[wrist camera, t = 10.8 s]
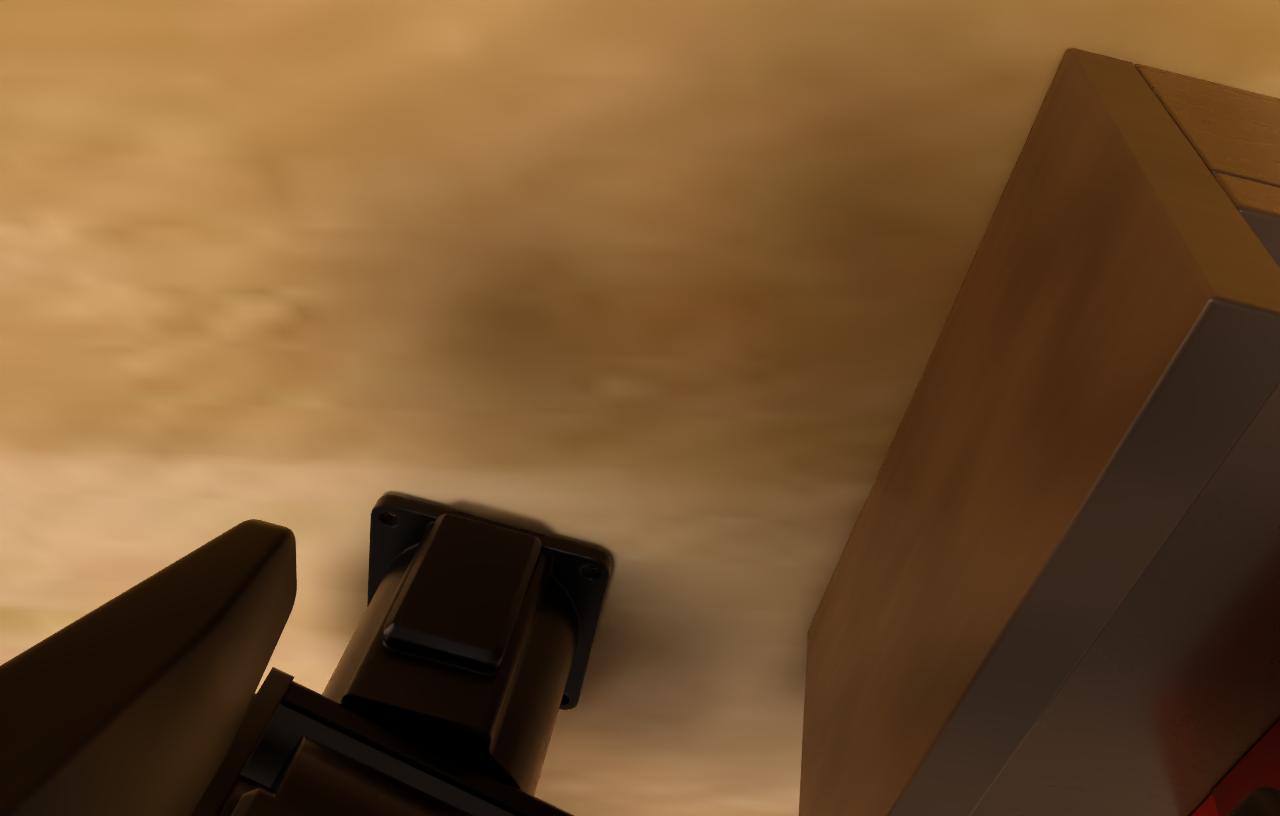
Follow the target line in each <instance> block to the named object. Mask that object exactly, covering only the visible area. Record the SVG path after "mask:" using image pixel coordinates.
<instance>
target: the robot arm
mask: <svg viewBox="0 0 1280 816" xmlns="http://www.w3.org/2000/svg"><path fill="white" fill-rule="evenodd" d="M388 512H390V513H392V514H394V515H395V516H393V515H391V514H389V513H388ZM587 565H591V566H594V567H596V568H597V569H594V568H590V567H588V566H587ZM611 568H612V561H611V559H610V557H609V556H608V555H607V554H606V553H605V552H604V551H601V550H599V549H596V548H592V547H589V546H585V545H581V544H577V543H573V542H570V541H566V540H562V539H558V538H554V537H551V536H547V535H543V534H539V533H535V532H531V531H528V530H524V529H520V528H516V527H512V526H509V525H505V524H501V523H497V522H493V521H490V520H486V519H482V518H478V517H474V516H471V515H467V514H463V513H459V512H455V511H452V510H448V509H444V508H440V507H436V506H433V505H429V504H425V503H421V502H417V501H414V500H410V499H406V498H402V497H398V496H393V495H386V496H382V497H381V498H380V499H379V500H378V501H377V503H376V505H375V506H374V508H373V510H372V513H371V528H370V554H369V580H368V606H367V610H366V612H365V613H364V615H363V617H362V619H361V621H360V623H359V625H358V627H357V629H356V631H355V633H354V634H353V636H352V638H351V640H350V642H349V644H348V646H347V648H346V650H345V652H344V654H343V656H342V657H341V659H340V661H339V663H338V665H337V667H336V669H335V671H334V673H333V675H332V677H331V679H330V680H329V682H328V684H327V686H326V688H325V690H324V692H323V694H322V695H321V694H319V693H317V692H315V691H313V690H311V689H308V688H306V687H304V686H302V685H300V684H298V683H296V682H294V681H292V680H293V679H294V677H293V676H291V675H289V674H287V673H285V672H283V671H281V670H278V669H276V668H274V667H273V668H272V669H271V671H270V673H269V674H268V676H267V678H266V679H265V681H264V683H263V684H262V686H261V688H260V689H259V691H258V693H257V694H255V691H256V689H257V687H258V685H259V682H260V680H261V678H262V676H263V673H264V671H265V669H266V667H267V665H268V662H269V660H270V658H271V656H272V653H273V651H274V649H275V647H276V645H277V642H278V640H279V638H280V636H281V633H282V631H283V629H284V627H285V624H286V622H287V620H288V618H289V616H290V613H291V611H292V608H293V605H294V601H295V597H296V591H297V578H296V541H295V536H294V534H293V532H292V531H291V529H288V528H287V527H283V526H280V525H276V524H272V523H268V522H264V521H261V520H255V519H252V520H247V521H244V522H242V523H240V524H238V525H237V526H235V527H233V528H232V529H230V530H228V531H227V532H225V533H223V534H221V535H220V536H218V537H216V538H215V539H213V540H211V541H210V542H208V543H206V544H205V545H203V546H201V547H200V548H198V549H196V550H195V551H193V552H191V553H189V554H188V555H186V556H184V557H183V558H181V559H179V560H178V561H176V562H174V563H173V564H171V565H169V566H168V567H166V568H164V569H163V570H161V571H159V572H158V573H156V574H154V575H152V576H151V577H149V578H147V579H146V580H144V581H142V582H141V583H139V584H137V585H136V586H134V587H132V588H131V589H129V590H127V591H126V592H124V593H122V594H120V595H119V596H117V597H115V598H114V599H112V600H110V601H109V602H107V603H105V604H104V605H102V606H100V607H99V608H97V609H95V610H94V611H92V612H90V613H88V614H87V615H85V616H83V617H82V618H80V619H78V620H77V621H75V622H73V623H72V624H70V625H68V626H67V627H65V628H63V629H62V630H60V631H58V632H57V633H55V634H53V635H51V636H50V637H48V638H46V639H45V640H43V641H41V642H40V643H38V644H36V645H35V646H33V647H31V648H30V649H28V650H26V651H25V652H23V653H21V654H19V655H18V656H16V657H14V658H13V659H11V660H9V661H8V662H6V663H4V664H3V665H1V666H0V816H574V815H572V814H570V813H567V812H565V811H563V810H561V809H559V808H557V807H555V806H553V805H551V804H549V803H547V802H544V801H542V800H540V799H538V798H536V797H534V794H535V791H536V787H537V784H538V780H539V777H540V773H541V770H542V766H543V763H544V759H545V756H546V752H547V749H548V745H549V742H550V738H551V735H552V731H553V728H554V724H555V721H556V717H557V714H558V710H559V709H563V710H568V709H572V708H574V707H576V705H577V703H578V700H579V696H580V692H581V688H582V684H583V680H584V676H585V672H586V668H587V664H588V660H589V656H590V652H591V648H592V644H593V640H594V636H595V632H596V628H597V624H598V620H599V616H600V612H601V608H602V604H603V600H604V596H605V592H606V588H607V584H608V580H609V576H610V572H611ZM1228 816H1280V790H1279V789H1275V788H1271V787H1261V788H1257V789H1255V790H1253V791H1252V792H1251V793H1250V794H1249V795H1248V796H1247V797H1246V798H1245V799H1244V800H1243V801H1242V802H1241V803H1240V804H1239V805H1238V806H1237V807H1236V808H1235V809H1234V810H1233V811H1232V812H1231V813H1230V814H1229V815H1228Z"/></svg>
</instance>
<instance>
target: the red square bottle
mask: <svg viewBox="0 0 1280 816" xmlns="http://www.w3.org/2000/svg"><path fill="white" fill-rule="evenodd" d="M1261 787H1271V788H1275V789H1279V790H1280V719H1279V720H1278V721H1277V722H1276V723H1275V724H1274V725H1273V726H1272V728H1271V729H1270V730H1269V731H1268V732H1267V733H1266V734H1265V735H1264V736H1263V737H1262V738H1261V739H1260V740H1259V741H1258V742H1257V743H1256V744H1255V745H1254V746H1253V747H1252V749H1251V750H1250V751H1249V752H1248V753H1247V754H1246V755H1245V756H1244V757H1243V758H1242V759H1241V760H1240V761H1239V762H1238V763H1237V764H1236V765H1235V766H1234V767H1233V769H1232V770H1231V771H1230V772H1229V773H1228V774H1227V775H1226V776H1225V777H1224V778H1223V779H1222V780H1221V781H1220V782H1219V783H1218V784H1217V785H1216V786H1215V787H1214V788H1213V790H1212V794H1211V795H1210V796H1209V797H1208V798H1207V799H1206V800H1205V801H1204V802H1203V803H1202V804H1201V805H1200V806H1199V807H1198V808H1197V809H1196V810H1195V811H1194V813H1193V814H1192V815H1191V816H1228V815H1229V814H1230V813H1231V812H1232V811H1233V810H1234V809H1235V808H1236V807H1237V806H1238V805H1239V804H1240V803H1241V802H1242V801H1243V800H1244V799H1245V798H1246V797H1247V796H1248V795H1249V794H1250V793H1251V792H1252V791H1253V790H1255V789H1257V788H1261Z"/></svg>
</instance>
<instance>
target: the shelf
mask: <svg viewBox="0 0 1280 816" xmlns="http://www.w3.org/2000/svg"><path fill="white" fill-rule="evenodd" d="M1279 719H1280V99H1277V98H1273V97H1269V96H1265V95H1261V94H1257V93H1253V92H1249V91H1245V90H1241V89H1237V88H1233V87H1229V86H1225V85H1221V84H1217V83H1212V82H1208V81H1204V80H1200V79H1196V78H1192V77H1188V76H1184V75H1180V74H1176V73H1172V72H1168V71H1164V70H1160V69H1156V68H1152V67H1148V66H1144V65H1140V64H1136V65H1135V66H1134V65H1133V64H1132V63H1131V62H1127V61H1123V60H1119V59H1115V58H1111V57H1107V56H1103V55H1099V54H1094V53H1090V52H1086V51H1082V50H1078V49H1074V48H1070V49H1068V50H1067V51H1066V54H1065V56H1064V58H1063V60H1062V63H1061V65H1060V67H1059V69H1058V72H1057V74H1056V76H1055V78H1054V81H1053V83H1052V85H1051V87H1050V90H1049V92H1048V94H1047V96H1046V99H1045V101H1044V103H1043V105H1042V108H1041V110H1040V112H1039V114H1038V116H1037V119H1036V121H1035V123H1034V125H1033V128H1032V130H1031V132H1030V134H1029V137H1028V139H1027V141H1026V143H1025V146H1024V148H1023V150H1022V152H1021V155H1020V157H1019V159H1018V161H1017V164H1016V166H1015V168H1014V170H1013V173H1012V175H1011V177H1010V179H1009V182H1008V184H1007V186H1006V188H1005V191H1004V193H1003V195H1002V197H1001V200H1000V202H999V204H998V206H997V209H996V211H995V213H994V215H993V218H992V220H991V222H990V224H989V227H988V229H987V231H986V233H985V236H984V238H983V240H982V242H981V245H980V247H979V249H978V251H977V254H976V256H975V258H974V260H973V263H972V265H971V267H970V269H969V272H968V274H967V276H966V278H965V281H964V283H963V285H962V287H961V290H960V292H959V294H958V296H957V298H956V301H955V303H954V305H953V307H952V310H951V312H950V314H949V316H948V319H947V321H946V323H945V325H944V328H943V330H942V332H941V334H940V337H939V339H938V341H937V343H936V346H935V348H934V350H933V352H932V355H931V357H930V359H929V361H928V364H927V366H926V368H925V370H924V373H923V375H922V377H921V379H920V382H919V384H918V386H917V388H916V391H915V393H914V395H913V397H912V400H911V402H910V404H909V406H908V409H907V411H906V413H905V415H904V418H903V420H902V422H901V424H900V427H899V429H898V431H897V433H896V436H895V438H894V440H893V442H892V445H891V447H890V449H889V451H888V454H887V456H886V458H885V460H884V463H883V465H882V467H881V469H880V471H879V474H878V476H877V478H876V480H875V483H874V485H873V487H872V489H871V492H870V494H869V496H868V498H867V501H866V503H865V505H864V507H863V510H862V512H861V514H860V516H859V519H858V521H857V523H856V525H855V528H854V530H853V532H852V534H851V537H850V539H849V541H848V543H847V546H846V548H845V550H844V552H843V555H842V557H841V559H840V561H839V564H838V566H837V568H836V570H835V573H834V575H833V577H832V579H831V582H830V584H829V586H828V588H827V591H826V593H825V595H824V597H823V600H822V602H821V604H820V606H819V609H818V611H817V613H816V615H815V618H814V620H813V622H812V624H811V627H810V629H809V631H808V637H807V658H806V679H805V699H804V720H803V740H802V761H801V781H800V802H799V816H1191V815H1192V814H1193V813H1194V811H1195V810H1196V809H1197V808H1198V807H1199V806H1200V805H1201V804H1202V803H1203V802H1204V801H1205V800H1206V799H1207V798H1208V797H1209V796H1210V795H1211V794H1212V790H1213V788H1214V787H1215V786H1216V785H1217V784H1218V783H1219V782H1220V781H1221V780H1222V779H1223V778H1224V777H1225V776H1226V775H1227V774H1228V773H1229V772H1230V771H1231V770H1232V769H1233V767H1234V766H1235V765H1236V764H1237V763H1238V762H1239V761H1240V760H1241V759H1242V758H1243V757H1244V756H1245V755H1246V754H1247V753H1248V752H1249V751H1250V750H1251V749H1252V747H1253V746H1254V745H1255V744H1256V743H1257V742H1258V741H1259V740H1260V739H1261V738H1262V737H1263V736H1264V735H1265V734H1266V733H1267V732H1268V731H1269V730H1270V729H1271V728H1272V726H1273V725H1274V724H1275V723H1276V722H1277V721H1278V720H1279Z"/></svg>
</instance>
